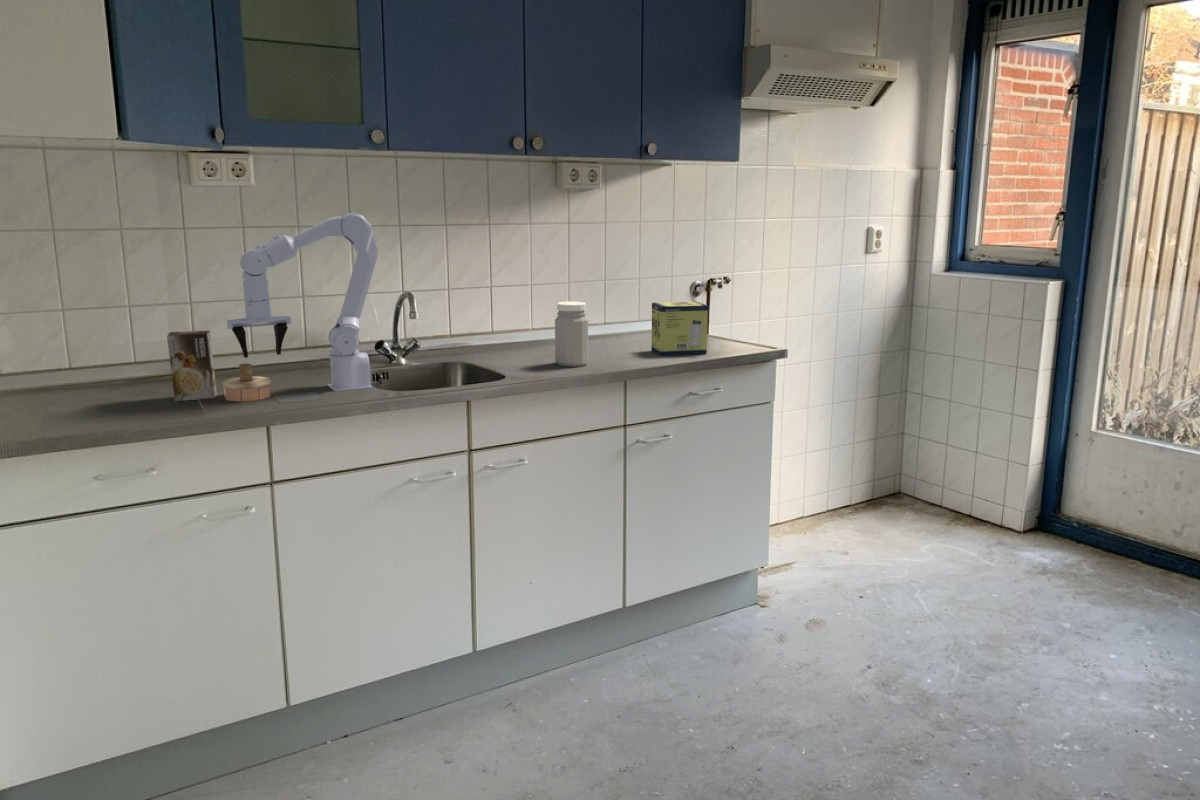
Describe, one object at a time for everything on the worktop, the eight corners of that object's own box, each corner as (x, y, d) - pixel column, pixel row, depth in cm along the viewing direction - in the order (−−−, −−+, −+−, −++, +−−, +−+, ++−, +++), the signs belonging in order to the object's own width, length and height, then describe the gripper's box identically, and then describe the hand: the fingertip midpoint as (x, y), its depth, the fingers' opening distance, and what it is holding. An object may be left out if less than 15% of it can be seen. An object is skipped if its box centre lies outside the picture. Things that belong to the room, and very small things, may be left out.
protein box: (650, 350, 286) (651, 302, 282) (696, 349, 289) (697, 301, 286) (659, 356, 276) (660, 306, 273) (707, 354, 279) (709, 304, 276)
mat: (315, 393, 223) (315, 391, 223) (323, 400, 215) (323, 398, 215) (273, 397, 218) (273, 396, 218) (279, 405, 211) (279, 403, 210)
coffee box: (217, 393, 222) (211, 329, 219) (214, 399, 216) (208, 333, 213) (177, 396, 220) (170, 331, 216) (173, 401, 214) (166, 335, 210)
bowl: (265, 392, 224) (264, 378, 224) (272, 399, 216) (271, 385, 215) (223, 396, 220) (221, 382, 219) (228, 404, 211) (227, 389, 210)
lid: (264, 377, 224) (263, 359, 223) (275, 385, 215) (274, 365, 214) (218, 382, 218) (216, 363, 217) (227, 390, 209) (225, 370, 208)
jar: (548, 363, 263) (547, 302, 259) (574, 360, 269) (573, 300, 265) (569, 368, 256) (568, 305, 252) (595, 364, 262) (595, 303, 258)
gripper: (227, 303, 210) (233, 360, 213) (291, 299, 217) (296, 355, 220) (223, 300, 216) (229, 356, 219) (285, 297, 223) (290, 350, 226)
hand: (262, 355), depth 220 cm, fingers open, 7 cm apart
